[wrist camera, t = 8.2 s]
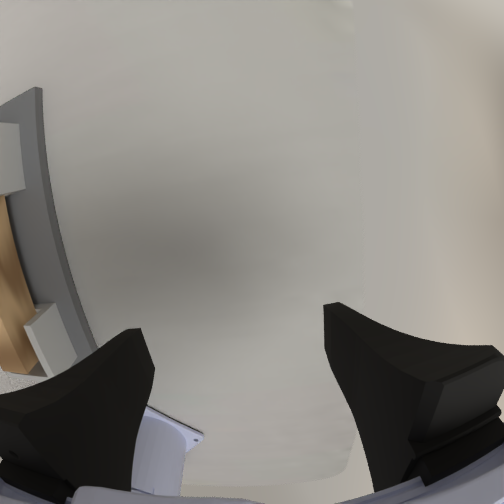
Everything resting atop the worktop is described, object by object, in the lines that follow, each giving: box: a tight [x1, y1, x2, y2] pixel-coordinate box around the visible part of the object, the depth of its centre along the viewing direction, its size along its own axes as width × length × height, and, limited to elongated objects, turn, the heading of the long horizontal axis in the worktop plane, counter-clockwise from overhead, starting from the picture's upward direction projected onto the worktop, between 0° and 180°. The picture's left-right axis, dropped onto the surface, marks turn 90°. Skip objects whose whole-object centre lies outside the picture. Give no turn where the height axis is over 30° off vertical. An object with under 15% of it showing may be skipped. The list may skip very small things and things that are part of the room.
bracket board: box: [0, 87, 98, 382], centre depth 17 cm, size 24×10×5 cm, turn 8°
